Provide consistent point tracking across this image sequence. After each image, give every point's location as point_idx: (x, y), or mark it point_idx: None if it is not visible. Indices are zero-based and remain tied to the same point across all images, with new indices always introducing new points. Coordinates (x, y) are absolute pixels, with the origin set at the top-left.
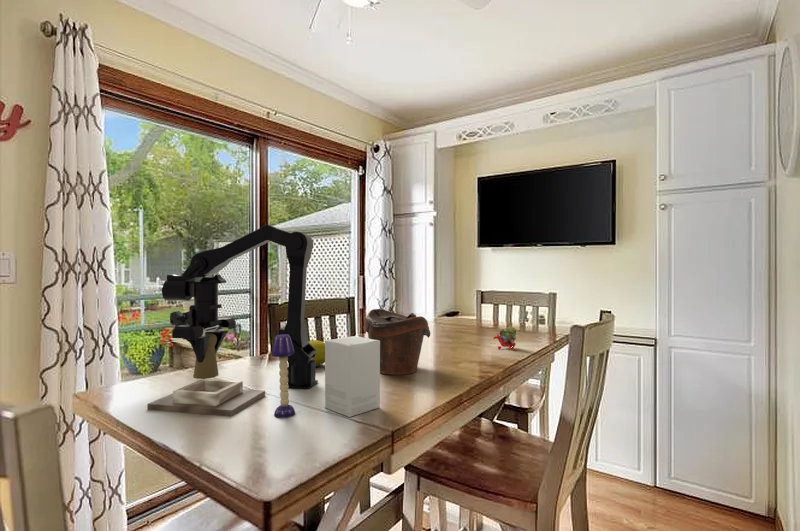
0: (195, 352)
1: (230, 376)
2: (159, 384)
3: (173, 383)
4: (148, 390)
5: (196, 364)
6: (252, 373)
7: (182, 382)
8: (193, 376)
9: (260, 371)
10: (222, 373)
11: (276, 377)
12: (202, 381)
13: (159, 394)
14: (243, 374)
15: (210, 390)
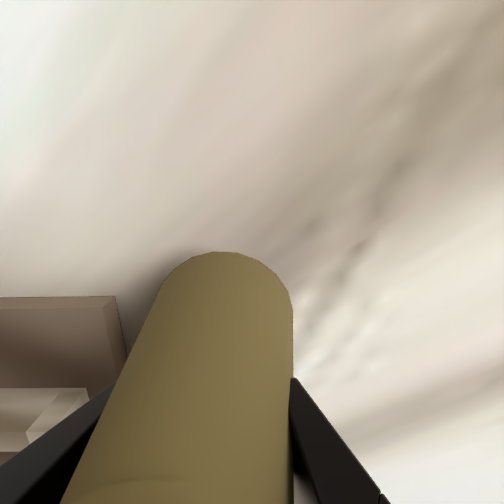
0: (10, 473)
1: (383, 323)
2: (145, 26)
3: (191, 107)
4: (25, 66)
5: (134, 344)
6: (448, 386)
7: (224, 148)
8: (172, 272)
9: (488, 401)
10: (446, 248)
11: (384, 490)
12: (16, 449)
13: (7, 193)
14: (427, 359)
15: None
